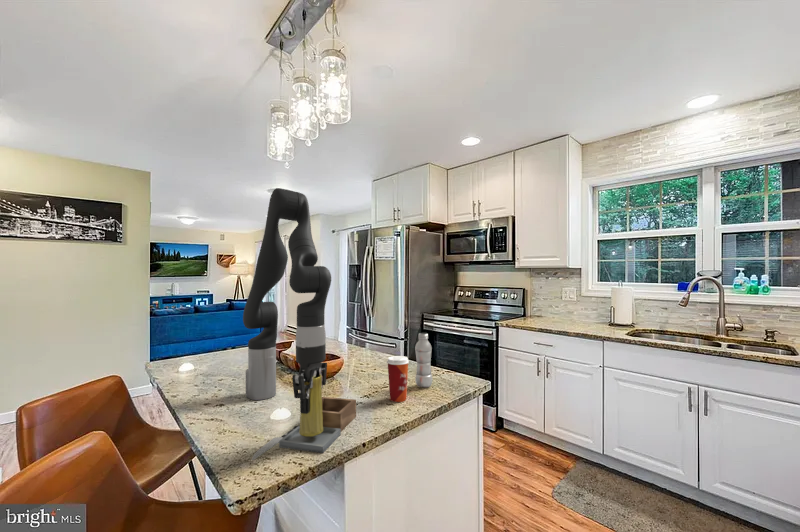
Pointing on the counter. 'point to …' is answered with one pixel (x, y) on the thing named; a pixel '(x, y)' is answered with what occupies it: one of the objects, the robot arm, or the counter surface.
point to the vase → (313, 411)
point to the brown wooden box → (338, 412)
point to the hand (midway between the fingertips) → (311, 408)
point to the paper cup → (398, 377)
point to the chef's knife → (270, 444)
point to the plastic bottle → (423, 361)
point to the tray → (310, 440)
